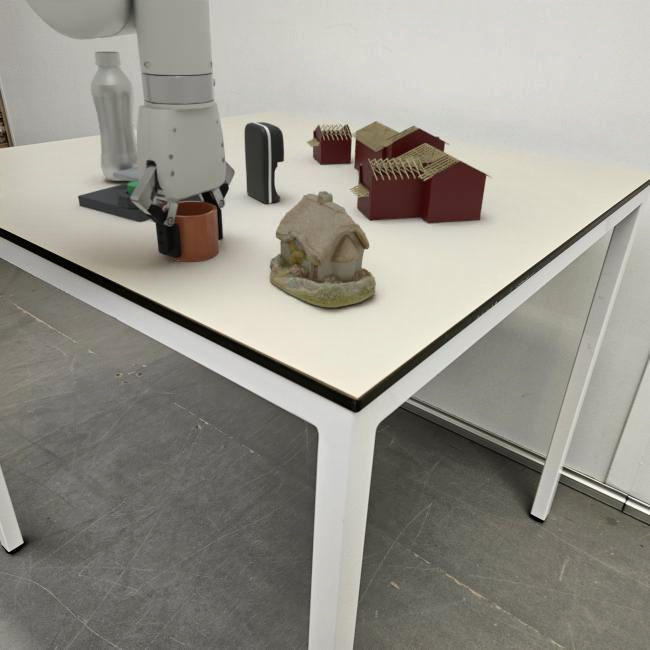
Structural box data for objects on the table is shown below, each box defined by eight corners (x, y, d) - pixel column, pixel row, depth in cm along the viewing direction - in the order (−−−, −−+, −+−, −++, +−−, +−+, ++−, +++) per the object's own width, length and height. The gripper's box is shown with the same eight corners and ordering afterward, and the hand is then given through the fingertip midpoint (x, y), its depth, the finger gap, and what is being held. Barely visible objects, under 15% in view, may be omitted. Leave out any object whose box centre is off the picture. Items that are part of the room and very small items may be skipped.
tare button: (138, 198, 84) (137, 187, 83) (124, 195, 85) (122, 184, 85) (155, 193, 86) (153, 183, 85) (140, 190, 88) (139, 179, 87)
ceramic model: (251, 268, 70) (248, 182, 65) (334, 252, 75) (336, 172, 70) (311, 317, 59) (313, 219, 55) (402, 294, 65) (411, 203, 60)
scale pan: (165, 189, 87) (164, 184, 87) (113, 177, 92) (112, 172, 92) (212, 176, 94) (211, 170, 94) (161, 165, 100) (161, 160, 99)
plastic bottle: (96, 179, 103) (76, 51, 94) (133, 173, 107) (118, 50, 98) (113, 187, 99) (94, 54, 90) (150, 181, 103) (136, 53, 94)
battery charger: (287, 202, 94) (287, 126, 88) (265, 205, 92) (264, 128, 87) (266, 191, 99) (265, 119, 94) (245, 194, 97) (242, 120, 92)
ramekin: (193, 266, 70) (189, 220, 68) (153, 254, 73) (148, 210, 71) (230, 250, 75) (227, 207, 73) (191, 239, 78) (188, 197, 76)
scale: (140, 222, 83) (137, 200, 82) (79, 206, 90) (75, 184, 88) (218, 197, 95) (216, 177, 94) (159, 184, 102) (157, 164, 100)
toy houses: (496, 218, 89) (508, 148, 84) (364, 226, 84) (368, 153, 80) (392, 153, 127) (396, 102, 123) (297, 156, 123) (297, 103, 118)
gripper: (207, 81, 74) (216, 222, 82) (89, 95, 61) (114, 261, 69) (255, 87, 70) (260, 233, 79) (142, 102, 57) (161, 276, 66)
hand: (191, 245), depth 74 cm, fingers closed on ramekin, 6 cm apart
